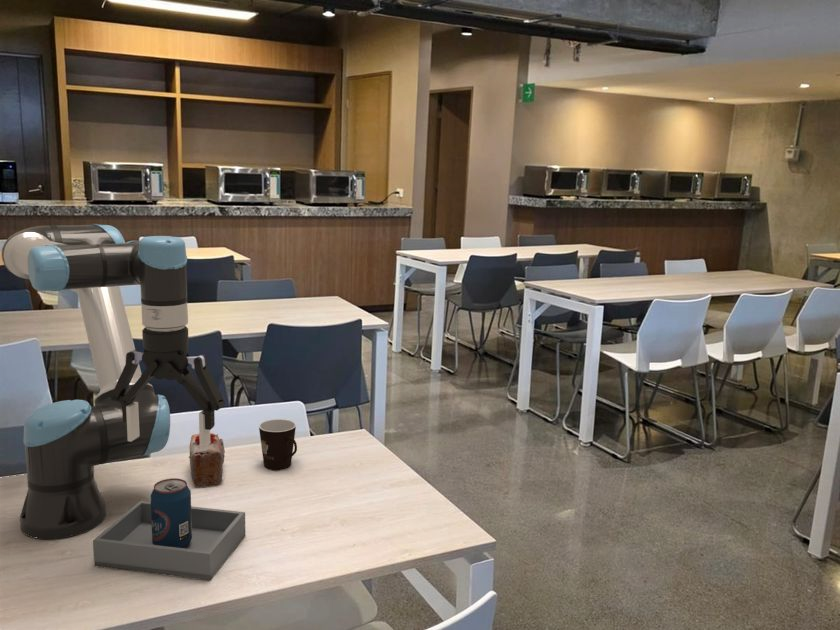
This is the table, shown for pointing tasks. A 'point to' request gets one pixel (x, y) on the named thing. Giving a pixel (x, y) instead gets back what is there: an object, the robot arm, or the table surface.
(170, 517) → the soda can
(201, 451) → the food item
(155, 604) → the table surface
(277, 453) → the coffee mug
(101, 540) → the bin
